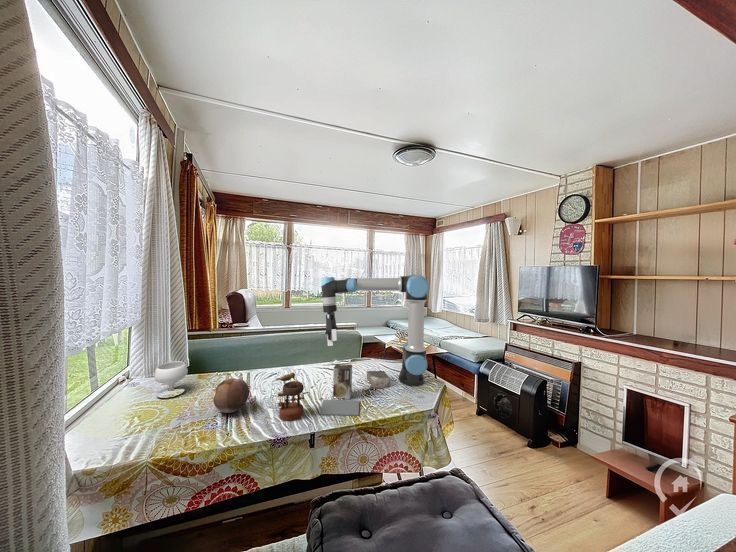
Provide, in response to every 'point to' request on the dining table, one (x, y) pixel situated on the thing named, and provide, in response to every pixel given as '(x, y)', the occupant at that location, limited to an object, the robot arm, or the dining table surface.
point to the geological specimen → (378, 379)
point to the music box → (291, 409)
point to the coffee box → (342, 381)
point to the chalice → (171, 373)
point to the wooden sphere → (231, 395)
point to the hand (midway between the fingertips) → (332, 343)
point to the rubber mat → (340, 408)
